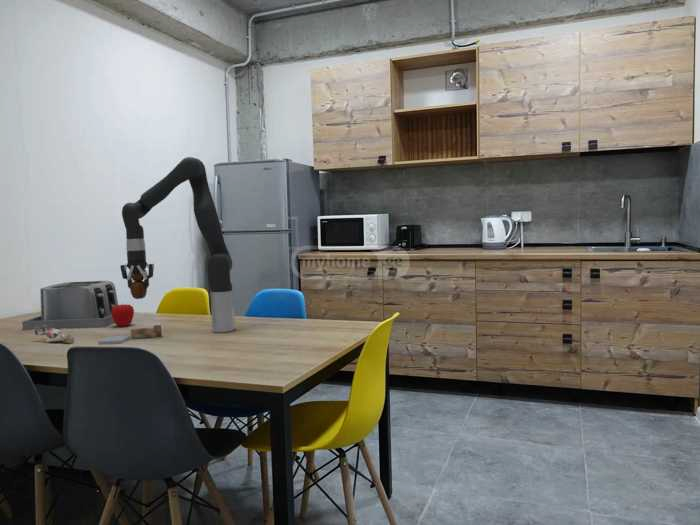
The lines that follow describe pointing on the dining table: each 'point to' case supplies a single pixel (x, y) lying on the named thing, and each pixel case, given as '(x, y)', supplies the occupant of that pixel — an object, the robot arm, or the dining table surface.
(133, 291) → the wooden figurine
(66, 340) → the figurine
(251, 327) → the dining table surface
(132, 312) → the apple
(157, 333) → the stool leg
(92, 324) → the toaster tray
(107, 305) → the toaster
